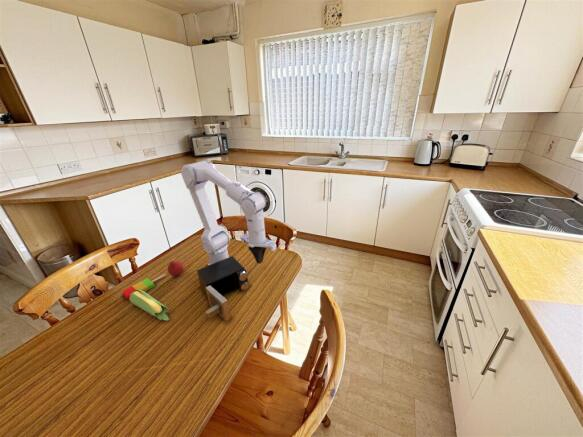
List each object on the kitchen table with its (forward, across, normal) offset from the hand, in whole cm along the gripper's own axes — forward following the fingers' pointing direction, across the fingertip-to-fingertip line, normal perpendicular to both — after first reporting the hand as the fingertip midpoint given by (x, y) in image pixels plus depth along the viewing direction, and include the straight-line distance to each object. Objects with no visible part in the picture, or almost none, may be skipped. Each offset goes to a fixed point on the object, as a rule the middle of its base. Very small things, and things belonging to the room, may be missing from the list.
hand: (259, 261), depth 86 cm
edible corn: (+10, -24, -29) cm, 40 cm away
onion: (+10, -33, -14) cm, 37 cm away
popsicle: (+10, -37, -24) cm, 45 cm away
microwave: (+10, -10, -9) cm, 17 cm away
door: (+10, -4, -20) cm, 23 cm away
